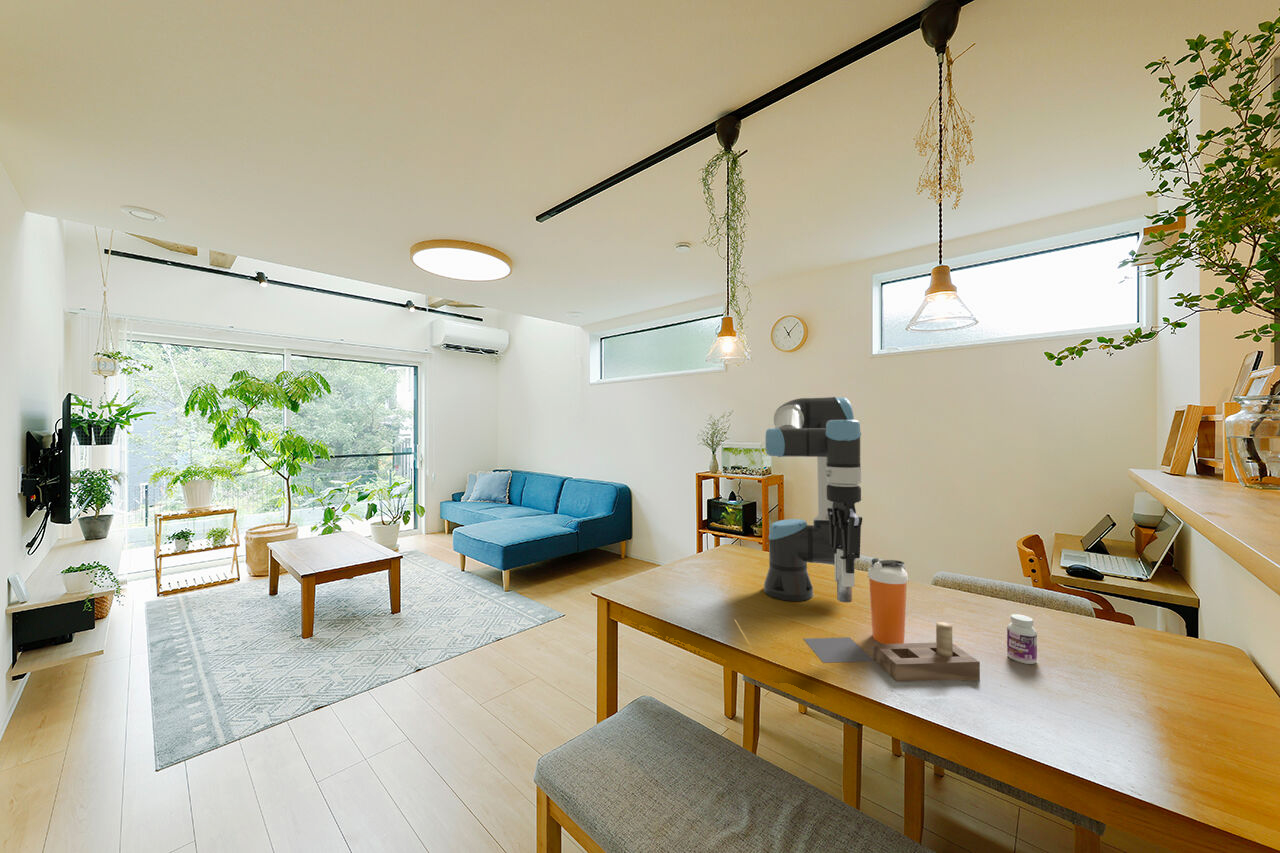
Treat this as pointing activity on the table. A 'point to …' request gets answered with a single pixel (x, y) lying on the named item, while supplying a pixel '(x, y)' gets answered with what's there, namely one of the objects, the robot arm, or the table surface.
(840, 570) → the peg
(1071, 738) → the table surface
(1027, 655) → the pill bottle
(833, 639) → the mat
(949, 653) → the dowel
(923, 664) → the hole block
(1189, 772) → the table surface
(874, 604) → the shaker bottle
